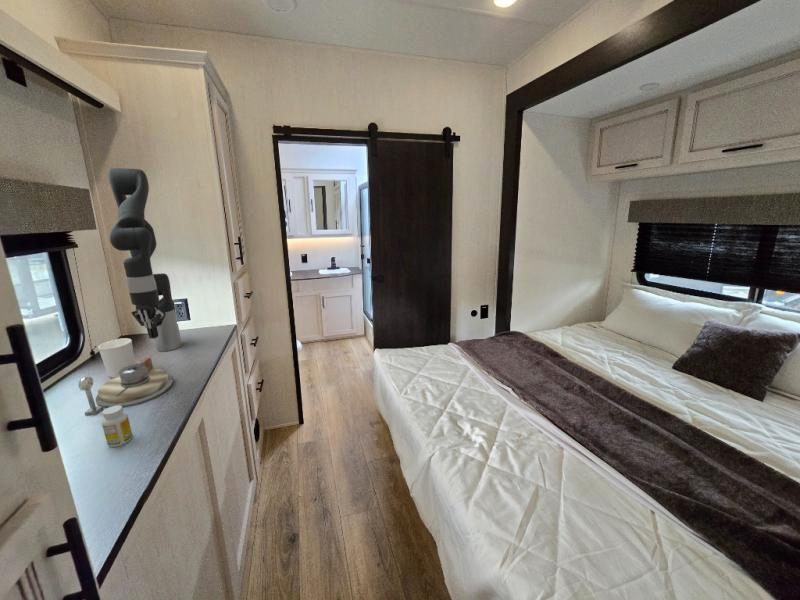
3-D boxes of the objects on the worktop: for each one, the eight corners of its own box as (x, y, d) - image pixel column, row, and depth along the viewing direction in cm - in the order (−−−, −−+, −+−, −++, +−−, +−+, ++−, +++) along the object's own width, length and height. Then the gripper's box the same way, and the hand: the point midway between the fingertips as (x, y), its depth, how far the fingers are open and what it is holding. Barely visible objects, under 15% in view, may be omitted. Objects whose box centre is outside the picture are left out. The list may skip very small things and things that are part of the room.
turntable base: (124, 377, 126) (123, 375, 126) (184, 374, 128) (183, 371, 128) (78, 410, 106) (78, 407, 105) (150, 405, 108) (150, 403, 107)
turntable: (124, 375, 125) (120, 359, 123) (179, 371, 127) (176, 355, 125) (84, 405, 106) (78, 386, 104) (149, 400, 108) (145, 382, 107)
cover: (130, 377, 119) (127, 363, 118) (154, 375, 120) (151, 362, 119) (115, 388, 112) (111, 374, 110) (141, 387, 112) (137, 373, 111)
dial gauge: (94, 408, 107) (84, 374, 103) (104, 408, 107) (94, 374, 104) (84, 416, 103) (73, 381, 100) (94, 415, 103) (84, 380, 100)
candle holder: (120, 379, 124) (112, 349, 121) (98, 377, 126) (90, 347, 123) (144, 367, 133) (138, 339, 130) (124, 365, 135) (117, 337, 132)
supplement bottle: (110, 450, 88) (101, 418, 86) (105, 441, 92) (96, 410, 89) (135, 439, 92) (127, 408, 90) (130, 431, 95) (122, 401, 93)
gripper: (168, 287, 115) (178, 335, 120) (139, 285, 119) (149, 332, 123) (147, 293, 108) (158, 343, 113) (116, 290, 112) (128, 339, 116)
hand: (153, 337), depth 118 cm, fingers closed
